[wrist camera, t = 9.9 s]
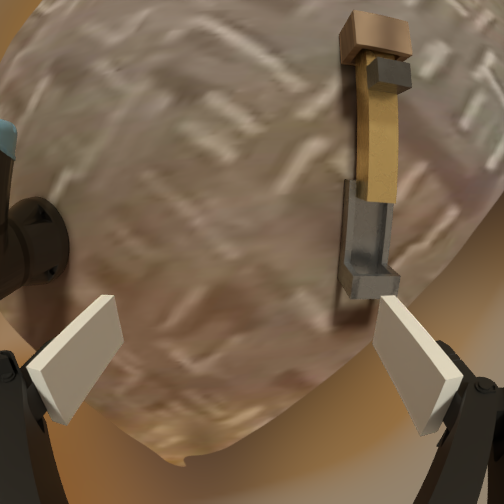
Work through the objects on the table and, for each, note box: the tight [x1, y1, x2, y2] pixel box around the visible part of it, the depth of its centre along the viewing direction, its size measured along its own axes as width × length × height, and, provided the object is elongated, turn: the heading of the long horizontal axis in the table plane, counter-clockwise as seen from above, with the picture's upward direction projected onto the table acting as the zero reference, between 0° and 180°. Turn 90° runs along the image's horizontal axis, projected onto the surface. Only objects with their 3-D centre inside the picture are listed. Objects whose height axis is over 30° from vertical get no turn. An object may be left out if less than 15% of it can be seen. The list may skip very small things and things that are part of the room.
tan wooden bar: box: [355, 48, 412, 203], centre depth 31 cm, size 4×22×9 cm, turn 179°
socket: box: [339, 10, 412, 66], centre depth 30 cm, size 7×5×8 cm
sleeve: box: [338, 179, 401, 299], centre depth 37 cm, size 6×14×7 cm, turn 179°
